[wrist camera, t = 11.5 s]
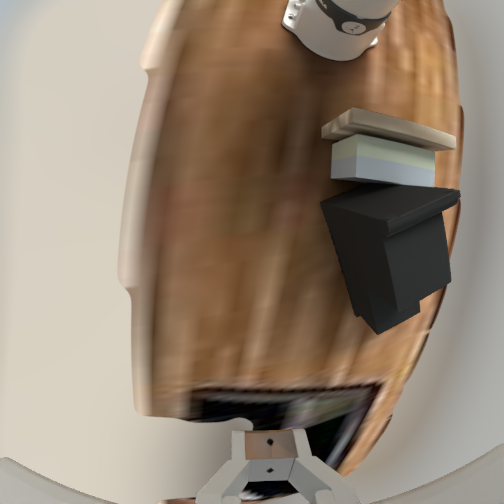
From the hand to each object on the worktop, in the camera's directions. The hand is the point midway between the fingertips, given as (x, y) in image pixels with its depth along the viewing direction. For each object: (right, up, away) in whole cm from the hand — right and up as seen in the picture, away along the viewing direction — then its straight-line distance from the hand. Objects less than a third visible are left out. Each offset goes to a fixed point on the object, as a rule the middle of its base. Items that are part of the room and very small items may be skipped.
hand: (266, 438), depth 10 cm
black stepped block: (+20, +8, +40) cm, 45 cm away
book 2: (+20, +21, +36) cm, 47 cm away
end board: (+20, +27, +35) cm, 49 cm away
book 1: (+20, +24, +36) cm, 48 cm away
